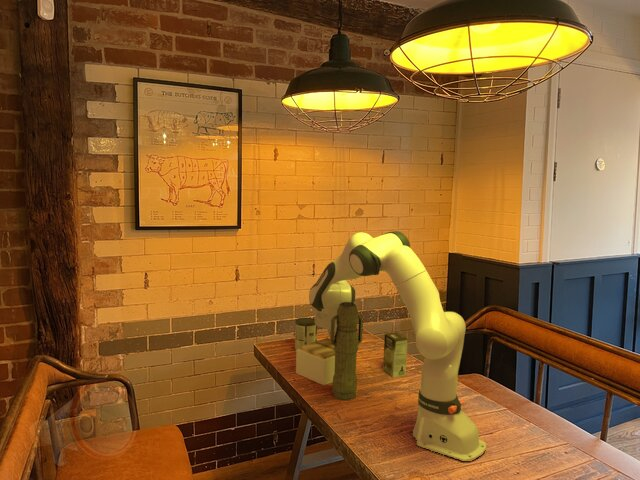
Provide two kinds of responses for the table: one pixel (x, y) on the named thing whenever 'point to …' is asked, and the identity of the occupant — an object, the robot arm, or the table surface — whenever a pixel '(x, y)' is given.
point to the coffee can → (305, 332)
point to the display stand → (315, 367)
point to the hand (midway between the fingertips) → (333, 340)
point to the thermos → (346, 350)
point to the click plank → (326, 343)
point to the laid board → (318, 350)
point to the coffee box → (395, 354)
